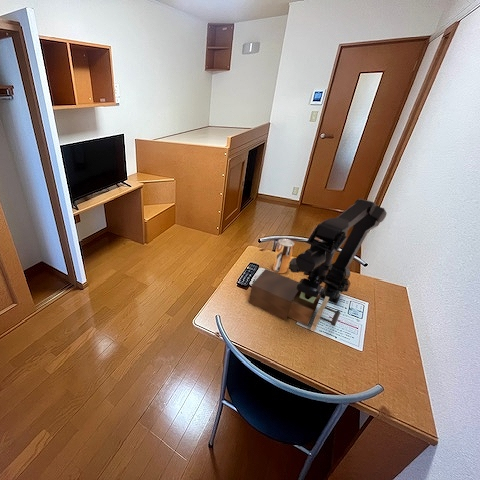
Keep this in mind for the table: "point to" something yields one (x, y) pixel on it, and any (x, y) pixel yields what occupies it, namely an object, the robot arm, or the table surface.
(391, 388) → the table surface
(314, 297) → the block
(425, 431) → the table surface
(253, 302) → the cabinet
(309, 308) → the drawer
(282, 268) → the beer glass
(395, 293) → the table surface
